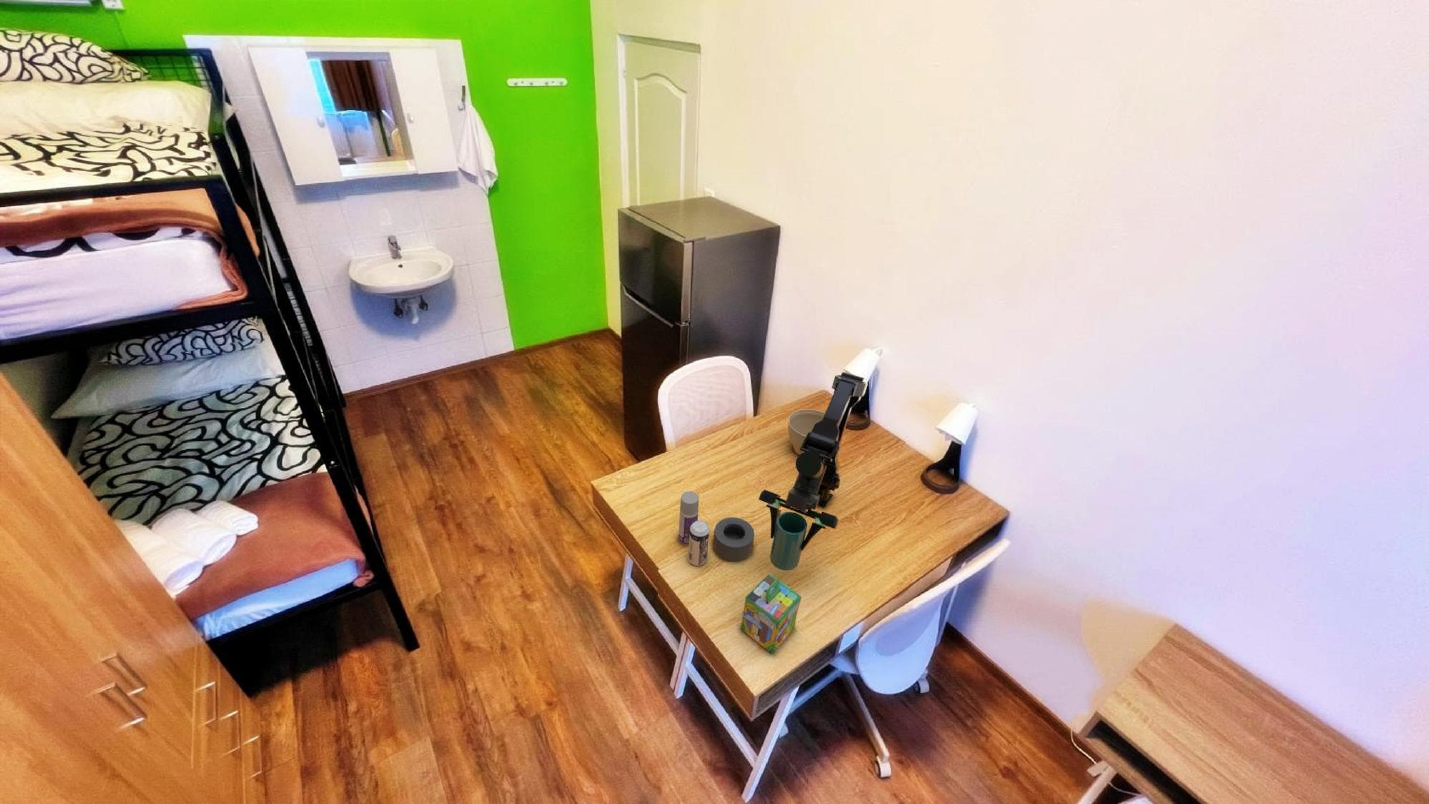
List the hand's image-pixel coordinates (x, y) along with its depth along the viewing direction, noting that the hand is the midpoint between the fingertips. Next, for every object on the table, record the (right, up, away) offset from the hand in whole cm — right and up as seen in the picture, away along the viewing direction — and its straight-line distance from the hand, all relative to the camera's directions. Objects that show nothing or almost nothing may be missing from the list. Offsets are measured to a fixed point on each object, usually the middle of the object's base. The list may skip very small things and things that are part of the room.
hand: (786, 544), depth 130 cm
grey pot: (-12, -5, +16) cm, 20 cm away
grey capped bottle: (-21, -7, +11) cm, 25 cm away
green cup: (0, -5, +5) cm, 7 cm away
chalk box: (-5, -18, -4) cm, 19 cm away
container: (-24, -3, +17) cm, 29 cm away
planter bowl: (+14, +17, +52) cm, 57 cm away
